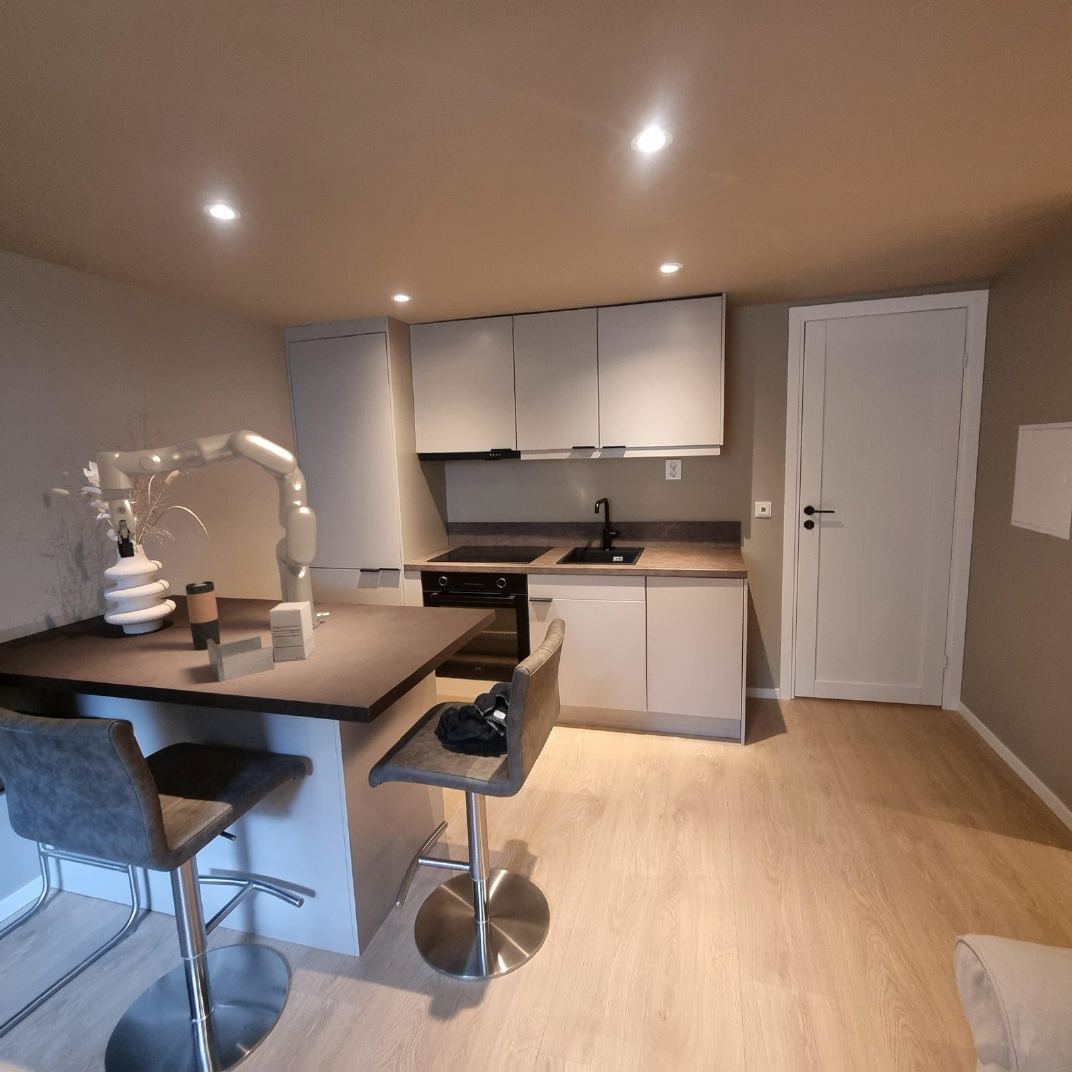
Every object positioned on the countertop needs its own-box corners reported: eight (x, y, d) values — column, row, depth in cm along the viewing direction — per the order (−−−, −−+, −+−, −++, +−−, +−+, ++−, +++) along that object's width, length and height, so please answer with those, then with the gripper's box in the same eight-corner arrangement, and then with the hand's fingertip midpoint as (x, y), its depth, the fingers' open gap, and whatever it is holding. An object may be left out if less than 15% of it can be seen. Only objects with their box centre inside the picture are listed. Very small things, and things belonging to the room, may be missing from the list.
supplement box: (284, 651, 168) (279, 602, 166) (315, 649, 169) (310, 600, 167) (273, 662, 159) (267, 610, 157) (306, 660, 160) (300, 608, 158)
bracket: (261, 655, 165) (258, 629, 164) (274, 668, 154) (271, 640, 153) (210, 667, 157) (206, 639, 156) (219, 682, 146) (216, 652, 145)
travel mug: (208, 651, 172) (200, 586, 169) (187, 650, 173) (178, 586, 171) (227, 642, 179) (219, 581, 177) (206, 642, 181) (198, 581, 178)
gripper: (136, 495, 155) (144, 556, 157) (132, 494, 169) (140, 550, 171) (102, 497, 151) (111, 560, 153) (101, 496, 164) (109, 554, 166)
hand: (126, 555), depth 162 cm, fingers open, 9 cm apart
